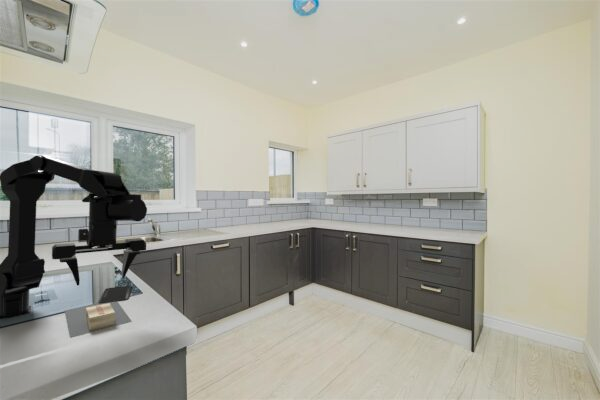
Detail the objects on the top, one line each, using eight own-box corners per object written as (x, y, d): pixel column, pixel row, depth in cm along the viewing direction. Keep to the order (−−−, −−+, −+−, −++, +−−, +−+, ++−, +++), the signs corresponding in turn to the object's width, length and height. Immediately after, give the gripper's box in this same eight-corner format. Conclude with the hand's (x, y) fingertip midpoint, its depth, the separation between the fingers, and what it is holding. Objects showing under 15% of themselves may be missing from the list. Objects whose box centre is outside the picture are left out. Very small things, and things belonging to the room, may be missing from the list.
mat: (64, 312, 73) (64, 310, 73) (116, 301, 81) (116, 299, 81) (69, 339, 59) (69, 337, 59) (131, 323, 67) (131, 321, 67)
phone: (132, 285, 95) (128, 299, 82) (132, 288, 95) (128, 302, 82) (105, 288, 91) (97, 303, 78) (105, 291, 91) (96, 306, 78)
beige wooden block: (114, 324, 65) (114, 311, 65) (89, 330, 62) (89, 317, 62) (109, 314, 71) (109, 302, 71) (85, 319, 68) (85, 307, 68)
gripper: (136, 217, 79) (135, 269, 79) (52, 219, 66) (50, 281, 66) (147, 219, 71) (146, 277, 71) (53, 222, 58) (51, 292, 58)
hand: (101, 281), depth 67 cm, fingers open, 9 cm apart
